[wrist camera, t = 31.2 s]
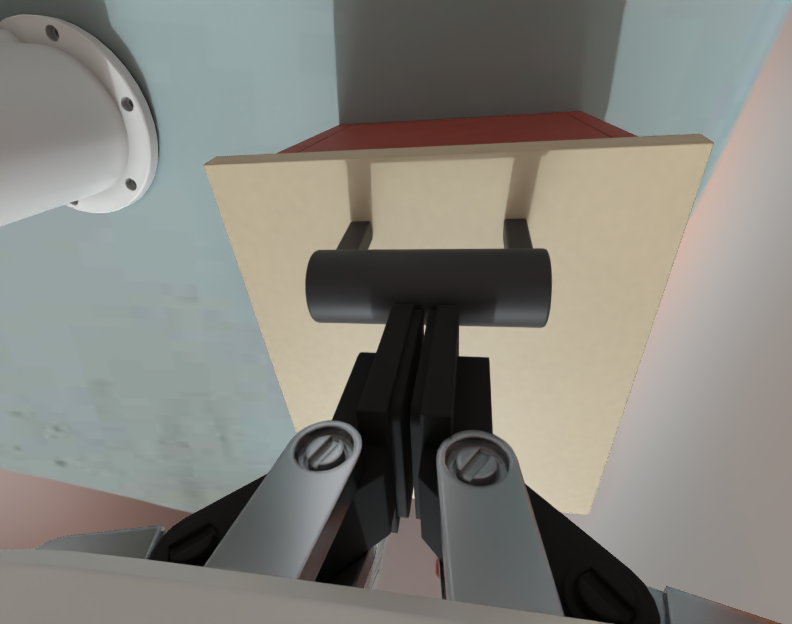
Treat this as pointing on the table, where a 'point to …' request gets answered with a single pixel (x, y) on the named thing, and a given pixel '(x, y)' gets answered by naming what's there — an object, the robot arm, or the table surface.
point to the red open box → (461, 132)
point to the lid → (471, 274)
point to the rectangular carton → (406, 562)
